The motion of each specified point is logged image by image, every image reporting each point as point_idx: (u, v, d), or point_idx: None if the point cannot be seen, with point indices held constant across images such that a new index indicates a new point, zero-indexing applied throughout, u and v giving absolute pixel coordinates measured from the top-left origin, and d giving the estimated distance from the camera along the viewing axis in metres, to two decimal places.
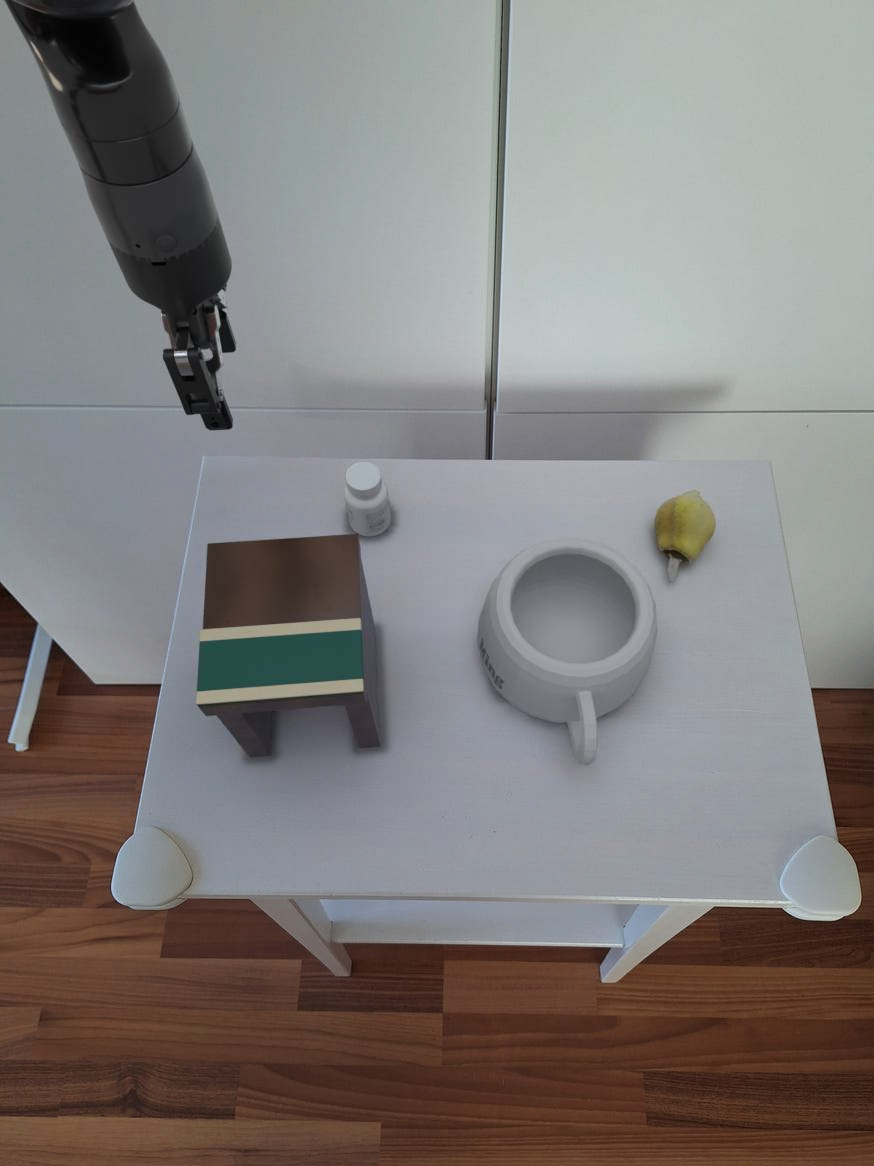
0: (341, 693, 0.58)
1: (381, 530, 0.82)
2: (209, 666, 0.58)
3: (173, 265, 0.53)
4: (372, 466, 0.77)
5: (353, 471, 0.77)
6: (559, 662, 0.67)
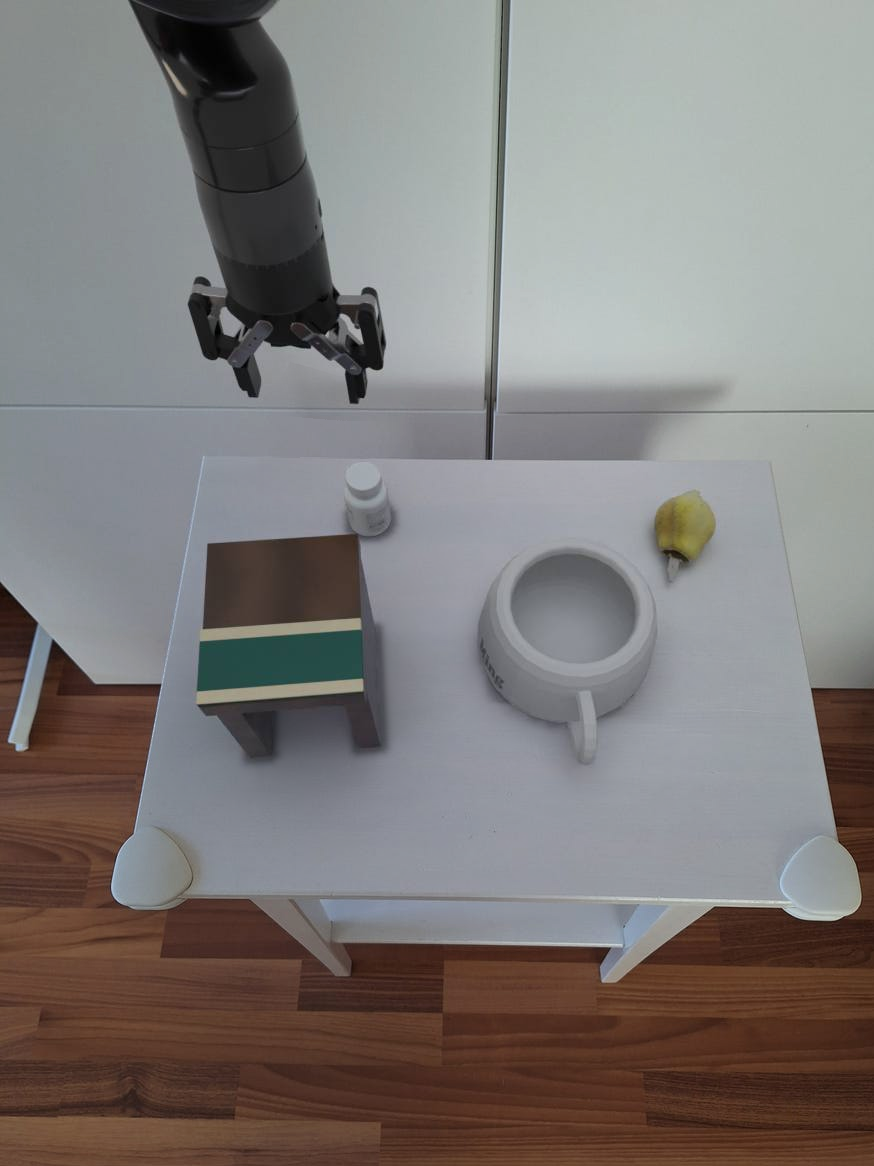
0: (341, 693, 0.58)
1: (381, 530, 0.82)
2: (209, 666, 0.58)
3: None
4: (372, 466, 0.77)
5: (353, 471, 0.77)
6: (559, 662, 0.67)
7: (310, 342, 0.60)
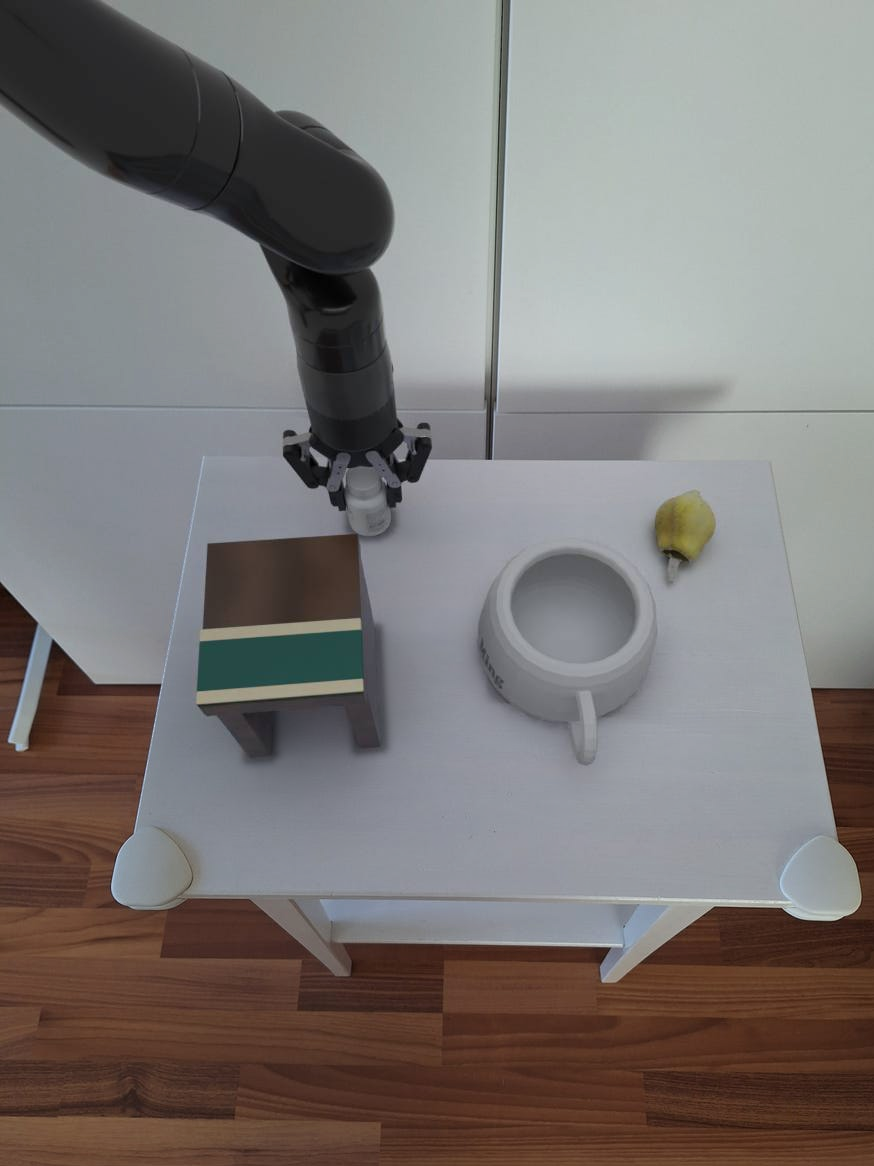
0: (341, 693, 0.58)
1: (381, 530, 0.82)
2: (209, 666, 0.58)
3: None
4: None
5: (353, 471, 0.77)
6: (559, 662, 0.67)
7: (374, 464, 0.73)
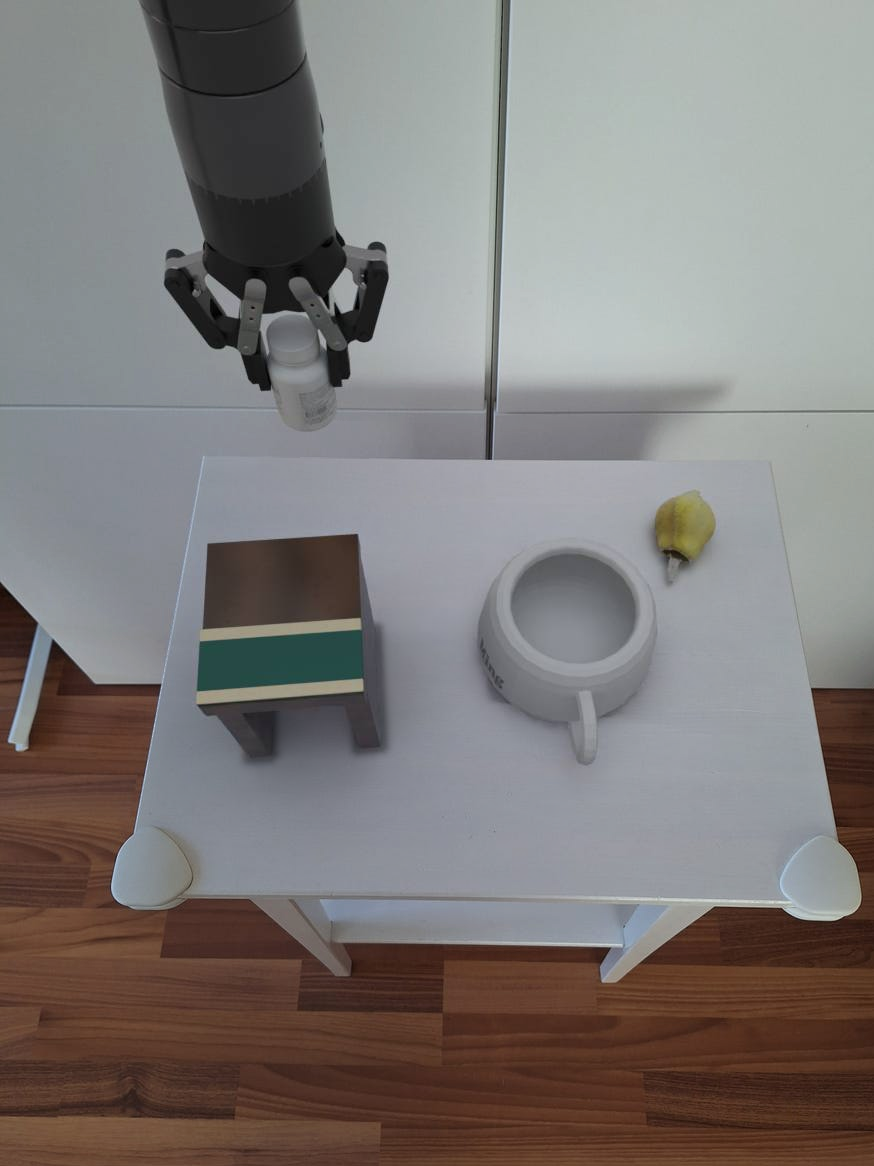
0: (341, 693, 0.58)
1: (323, 422, 0.59)
2: (209, 666, 0.58)
3: None
4: (305, 320, 0.54)
5: (277, 326, 0.53)
6: (559, 662, 0.67)
7: (303, 304, 0.49)
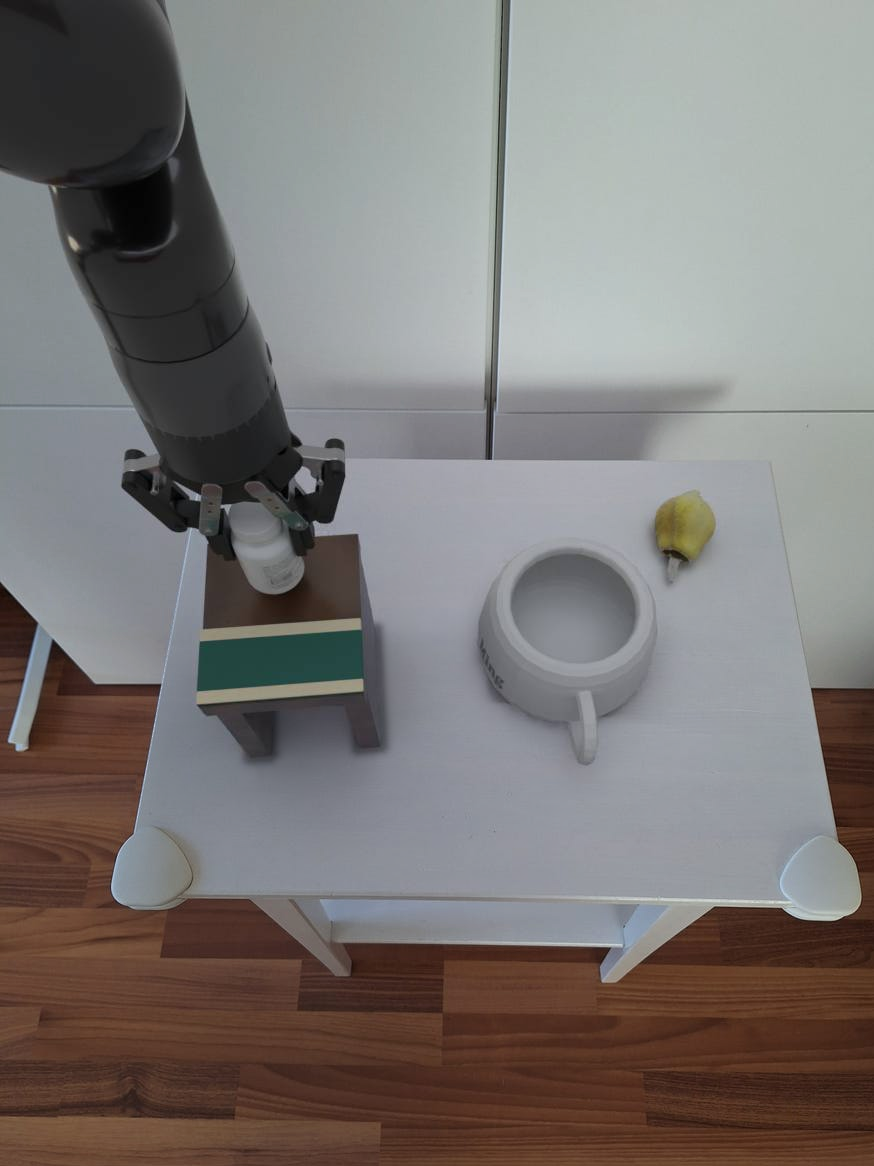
0: (341, 693, 0.58)
1: (289, 586, 0.59)
2: (209, 666, 0.58)
3: (274, 375, 0.44)
4: None
5: (240, 507, 0.54)
6: (559, 662, 0.67)
7: (261, 499, 0.49)
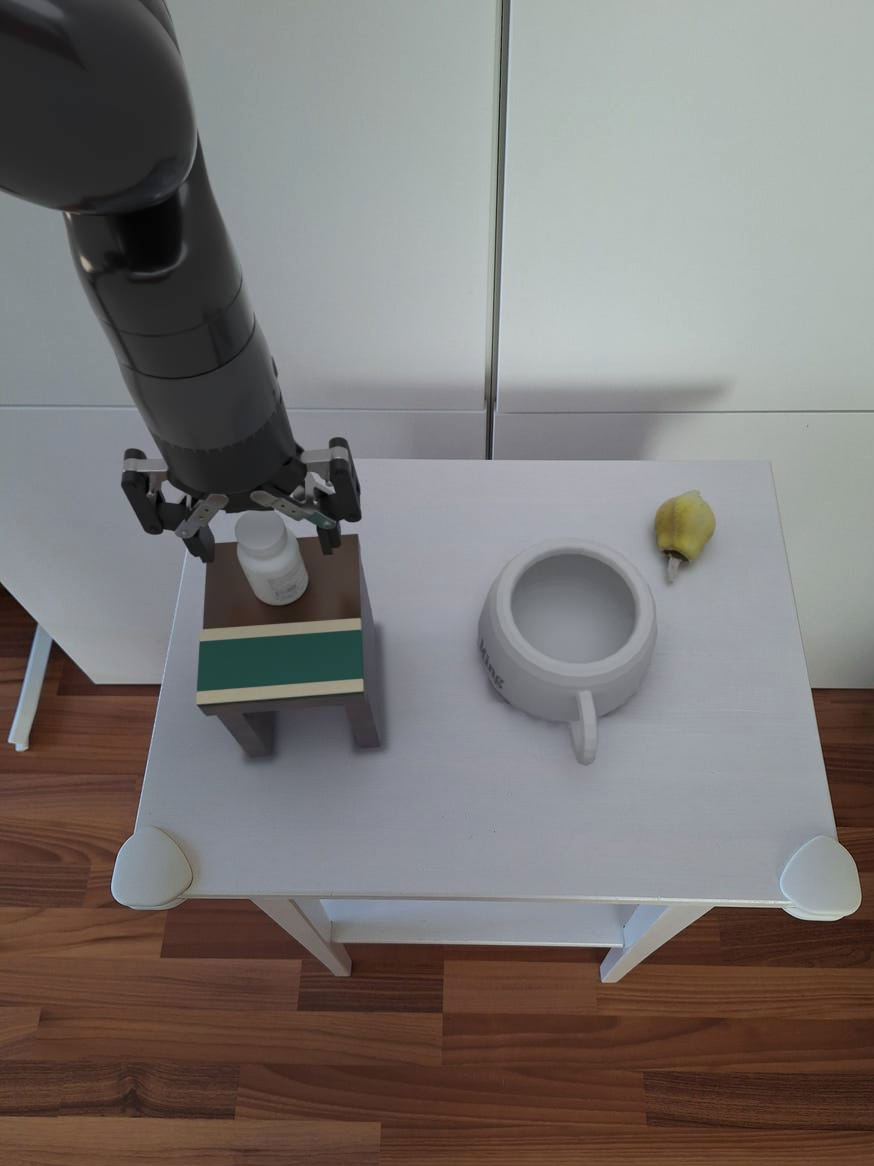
0: (341, 693, 0.58)
1: (293, 597, 0.61)
2: (209, 666, 0.58)
3: (279, 387, 0.45)
4: (273, 514, 0.56)
5: (246, 522, 0.55)
6: (559, 662, 0.67)
7: (274, 507, 0.50)
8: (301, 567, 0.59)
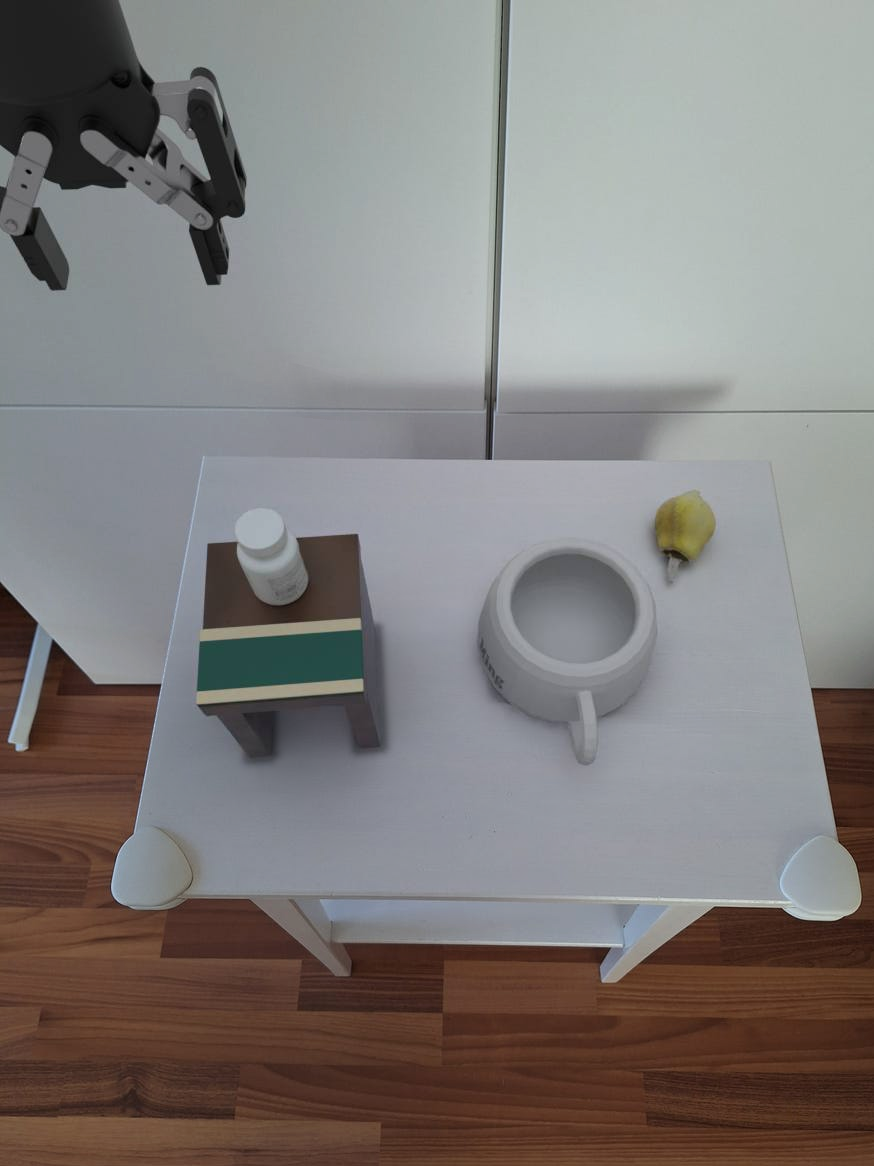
0: (341, 693, 0.58)
1: (293, 597, 0.61)
2: (209, 666, 0.58)
3: None
4: (273, 514, 0.56)
5: (246, 522, 0.55)
6: (559, 662, 0.67)
7: (120, 170, 0.38)
8: (301, 567, 0.59)
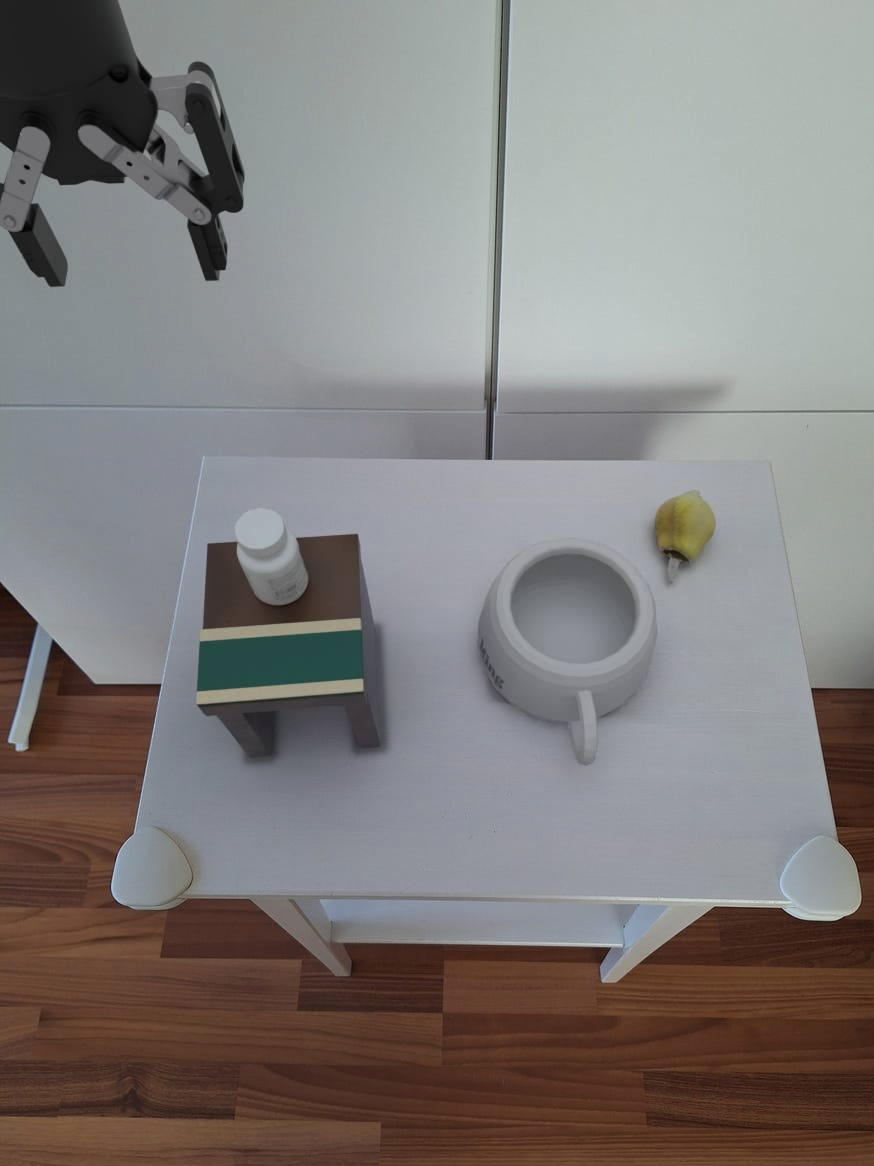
0: (341, 693, 0.58)
1: (293, 597, 0.61)
2: (209, 666, 0.58)
3: None
4: (273, 514, 0.56)
5: (246, 522, 0.55)
6: (559, 662, 0.67)
7: (118, 165, 0.38)
8: (301, 567, 0.59)
